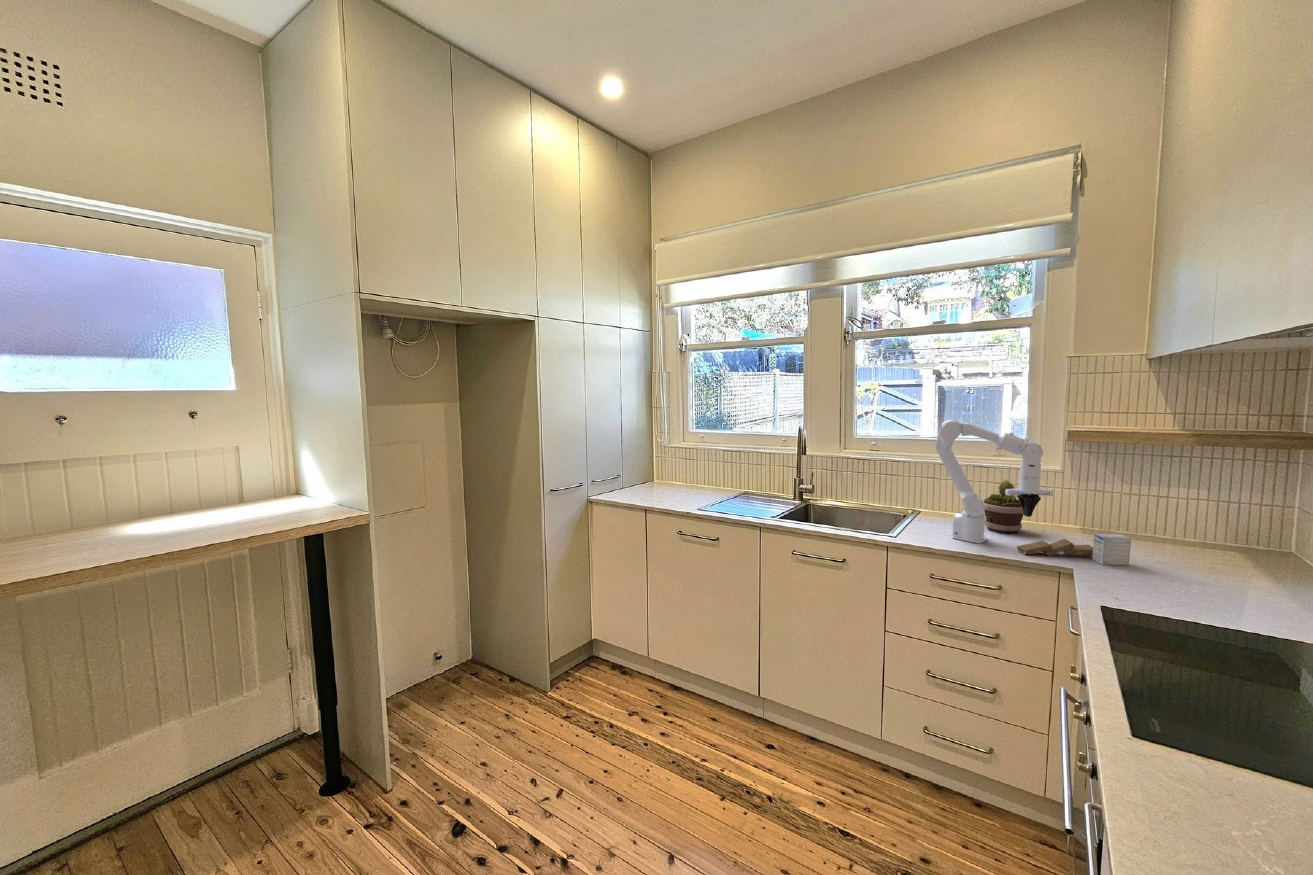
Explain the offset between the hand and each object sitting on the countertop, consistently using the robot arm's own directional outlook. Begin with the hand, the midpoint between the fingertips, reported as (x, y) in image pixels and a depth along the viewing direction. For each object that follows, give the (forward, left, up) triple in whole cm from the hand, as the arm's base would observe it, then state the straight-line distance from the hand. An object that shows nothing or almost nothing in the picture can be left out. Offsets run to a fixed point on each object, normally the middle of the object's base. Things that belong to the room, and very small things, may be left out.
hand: (1027, 515), depth 184 cm
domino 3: (+11, -3, -9) cm, 14 cm away
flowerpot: (-12, +16, -11) cm, 23 cm away
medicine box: (+23, -2, -11) cm, 25 cm away
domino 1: (+2, -11, -10) cm, 15 cm away
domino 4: (+12, -1, -10) cm, 16 cm away
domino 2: (+7, -7, -10) cm, 14 cm away
